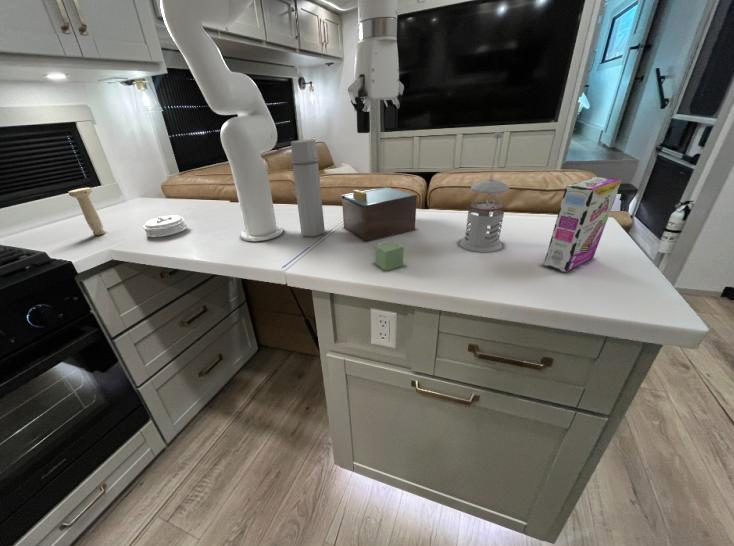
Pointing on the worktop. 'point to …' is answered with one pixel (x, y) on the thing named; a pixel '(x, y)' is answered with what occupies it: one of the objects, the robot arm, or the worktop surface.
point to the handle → (88, 209)
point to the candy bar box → (581, 222)
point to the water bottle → (307, 186)
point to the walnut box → (379, 217)
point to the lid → (164, 226)
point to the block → (389, 255)
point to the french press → (485, 215)
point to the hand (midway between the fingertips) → (377, 130)
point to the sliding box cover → (375, 196)
